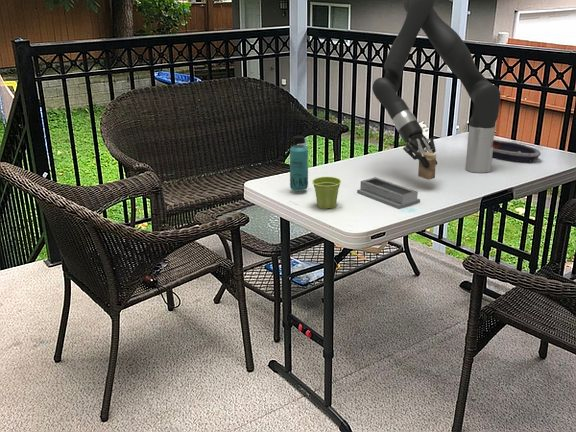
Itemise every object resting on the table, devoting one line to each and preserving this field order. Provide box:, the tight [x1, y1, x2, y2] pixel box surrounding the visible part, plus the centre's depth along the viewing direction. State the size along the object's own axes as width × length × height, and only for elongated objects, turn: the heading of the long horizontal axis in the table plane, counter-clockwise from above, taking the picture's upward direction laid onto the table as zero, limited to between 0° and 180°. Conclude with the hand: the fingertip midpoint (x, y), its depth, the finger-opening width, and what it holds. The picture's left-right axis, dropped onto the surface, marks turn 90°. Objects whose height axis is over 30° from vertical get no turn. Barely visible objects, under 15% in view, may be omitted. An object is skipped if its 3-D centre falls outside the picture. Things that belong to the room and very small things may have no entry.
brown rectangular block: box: [417, 151, 437, 181], centre depth 208 cm, size 3×5×8 cm, turn 36°
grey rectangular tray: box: [356, 176, 421, 210], centre depth 202 cm, size 10×20×4 cm, turn 36°
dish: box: [492, 139, 542, 163], centre depth 247 cm, size 16×31×5 cm, turn 38°
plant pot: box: [311, 176, 342, 210], centre depth 195 cm, size 9×9×9 cm
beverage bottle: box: [289, 135, 309, 191], centre depth 207 cm, size 6×7×20 cm
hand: (431, 166), depth 207 cm, fingers closed on brown rectangular block, 3 cm apart
